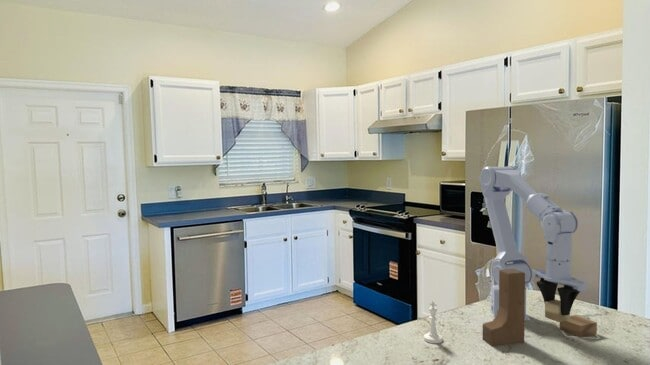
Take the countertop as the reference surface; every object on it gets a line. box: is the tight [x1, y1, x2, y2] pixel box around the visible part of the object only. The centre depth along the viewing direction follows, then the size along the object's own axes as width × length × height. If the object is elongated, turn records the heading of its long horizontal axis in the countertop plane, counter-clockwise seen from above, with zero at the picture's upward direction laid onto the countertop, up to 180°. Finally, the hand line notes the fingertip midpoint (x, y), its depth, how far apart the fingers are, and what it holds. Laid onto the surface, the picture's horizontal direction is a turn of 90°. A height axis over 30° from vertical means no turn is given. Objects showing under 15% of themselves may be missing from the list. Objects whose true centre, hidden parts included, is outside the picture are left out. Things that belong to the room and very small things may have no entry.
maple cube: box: [544, 298, 571, 323], centre depth 113 cm, size 4×4×4 cm
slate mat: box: [555, 324, 602, 340], centre depth 116 cm, size 15×11×1 cm
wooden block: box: [482, 269, 526, 347], centre depth 111 cm, size 9×4×18 cm, turn 101°
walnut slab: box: [559, 314, 598, 339], centre depth 116 cm, size 6×6×3 cm
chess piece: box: [422, 300, 444, 344], centre depth 114 cm, size 5×5×10 cm
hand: (557, 311), depth 114 cm, fingers closed on maple cube, 4 cm apart
